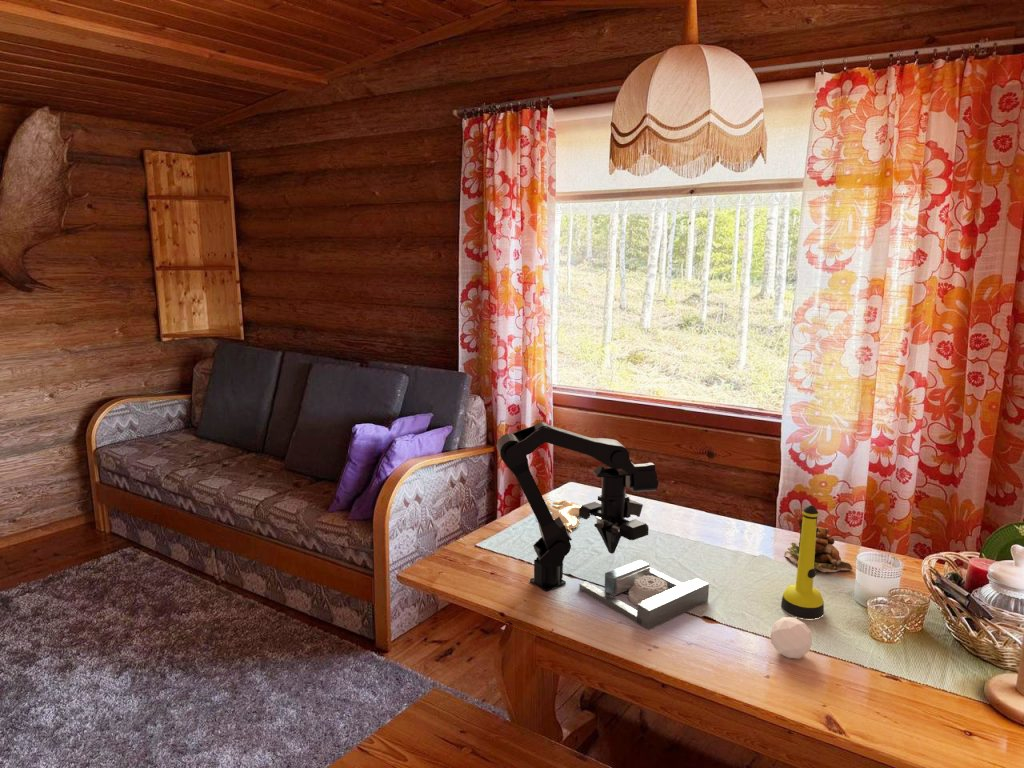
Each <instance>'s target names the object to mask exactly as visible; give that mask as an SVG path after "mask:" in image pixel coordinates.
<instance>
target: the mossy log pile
mask: <svg viewBox="0 0 1024 768" xmlns="http://www.w3.org/2000/svg"><path fill="white" fill-rule="evenodd" d="M796 520H797V522H798V528H799V540H798V541H799V542H798V544H797V543H796V542H790V545H791V546H789V547H788V548H787V550H786V551H785V552H784V554H783V557H786V558H788V559H789V560H790V561H791V563H793V564H794V565H796V566H798V559H799V550H800V540H801V531H802V522H803V518H802V517H798V518H797V519H796ZM829 529H830V528H824V527H823V526H817V528H816V543H815V559H814V570H818V571H820V572H822V573H826V572H827V573H833V572H836V573H837V572H838V571H852V570H853V569H854V568H853V566H852V565H851V564H850V563H849V562H845V561H843V560H842V558H841V557H840V551H839V550H838V549H837V548H836V547H835V546H834V544H835V541H836V540H835V539H834V538H833V537H832V536H829V535H828V533H829V532H830V531H829Z"/></svg>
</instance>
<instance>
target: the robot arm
mask: <svg viewBox="0 0 1024 768" xmlns="http://www.w3.org/2000/svg"><path fill="white" fill-rule="evenodd" d="M545 444H550V445H554V446H556V447H560V448H564V449H567V450H570V451H573V452H576V453H579V454H583V455H586V456H589V457H591V458H593V459H595V460H597V461H598V462H600V463H602V464H603V465H606V466H608V467H604V466H603V465H602V464H599V466H598V467H597V468H595V469H594V470H593V471H592V472H593V474H594V475H595V476H596V477H597V478H601V494H600V495H598V496H597V501H599V502H600V503H599V502H596V501H592V502H589V503H585V504H582V505H580V506H581V507H580V509H579V516H578V517H580V518H582V519H583V520H588V519H589V518H591V517H590V516H593V517H595V519H596V523H594V524H593V525H594V527H595V528H596V529H597V531H598V533H599V535H600V537H601V539H602V541H603V543H604V545H605V547H606V549H607V552H608V553H609V554H611V555H612V554H615V552H616V550H617V547H618V545H619V542H620V540H621V538H624V539H626V540H629V541H635V540H638V539H640V538H644V537H646V536H649V525H648V524H647V523H645V522H643V521H641V520H639V519H636V518H635V519H632V520H629V518H631V517H632V516H636V517H637V518H639V517H641V513H642V510H643V506H644V504H643V503H640V502H638V501H636V500H633V499H630V497H629V496H628V495H627V494H626V488H627V489H630V491H631V492H632V493H638V492H639V493H640V492H641V493H642V492H643V493H644V492H655V491H657V490H658V488H659V479H658V475H657V471H656V464H654V463H653V462H646V463H635V464H634V463H633V462H632V461H631V459H630V453H629V451H628V449H627V448H626V447H625V446H624V445H623V444H622V443H621V442H619V441H618V440H616V439H613V438H606V437H605V438H604V437H598V438H597V437H590V436H586V435H582V434H580V433H576V432H573V431H569V430H566V429H564V428H559V427H558V426H557V427H556V426H553V425H551V424H548V423H547V422H544V421H540V422H537V423H535V424H533V425H532V426H529V427H525V428H522V429H519V430H517V431H515V432H513V433H505V434H503V435H501V436H499V439H498V440H497V442H496V450H497V452H498V454H499V456H500V458H501V460H502V461H503V462H504V464H505V465H506V467H507V468H508V469H509V471H510V472H511V474H512V475H513V476H514V477H515V478H516V479H517V482H518V483H519V484H518V485H519V486H520V488H521V491H523V494H524V496H525V498H526V500H527V503H528V504H529V506H530V508H531V510H532V512H533V514H534V516H535V519H536V520H537V524H538V527H539V528H538V529H539V532H540V536H541V537H540V538H539V539H538V540H537V541H536V542H535V543H534V544H533V545H532V547H533V550H534V552H535V553H536V556H537V557H536V559H534V561H533V577H532V578H530V579H529V582H530V583H532V584H533V585H535V586H537V587H539V588H540V589H541V590H543V591H545V592H549V591H550V590H553V589H557V588H559V587H561V586H564V585H566V584H567V581H565V580H564V579H563V578H564V571H563V570H564V563H563V562H564V559H565V557H566V556H567V555H568V554H569V553H570V551H571V549H572V544H571V542H570V541H573V539H572V537H571V535H570V534H569V532H568V529H567V530H566V527H565V525H564V523H563V522H562V520H561V518H560V517H558V518H556V519H554V518H553V516H552V515H551V514H552V512H551V511H550V510H549V509H548V507H547V505H546V503H547V502H546V501H545V499H544V497H543V495H542V493H541V491H540V489H539V487H538V485H537V483H536V481H535V479H534V476H533V475H532V473H531V469H530V465H529V461H528V457H527V456H528V455H530V454H532V453H533V452H535V451H536V450H537V449H538V448H540V447H542V445H545Z"/></svg>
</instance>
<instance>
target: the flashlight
mask: <svg viewBox="0 0 1024 768" xmlns="http://www.w3.org/2000/svg"><path fill="white" fill-rule="evenodd" d="M819 516H820V515H819V510H818V509H817V508H816V506H814V505H813V504H809V505H806V507H804V508H803V510H802V519H803V522H802V531H801V540H799V541H800V550H799V559H798V565H797V571H796V580H795V583H794V584H793V583H792V584H790V585H788V586H787V587H786V588H785V590H784V591H783V592H782V597H781V604H780V609H781V610H782V611H783V612H784V614H787V616H789V615H790V616H789V617H792V616H793V617H797V618H803V619H815V618H819V617H821V616H822V615H823V614H824V613H825V611H824V609H825V603H824V602H825V601H824V598H823V596H822V594H821V592H820V591H819V590H818V589H817V588H815V587H814V578H816V575H817V571H816V569H815V568H814V559H815V543H816V528H817V527H818V517H819ZM797 618H796V619H797Z"/></svg>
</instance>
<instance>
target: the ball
mask: <svg viewBox="0 0 1024 768" xmlns="http://www.w3.org/2000/svg"><path fill="white" fill-rule="evenodd" d="M770 643H771V645H772V646H773V648H774V649H775V650H776V652H778V653H779V654H780V655H782V656H784V657H785V658H788V659H801V658H802V657H804V656H805V655H806V654H808V653H809V651H810V650H811V648H812V646H813V638H812V631H811V630H810V628H809V627H808V625H806V623H805V622H803V621H801V619H797V618H795V617H792V616H788V617H787V616H786V617H785V616H782V617H781V618H780V619H778V620H777V621H775V622H774V623H773V625H772V627H771V629H770Z"/></svg>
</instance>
